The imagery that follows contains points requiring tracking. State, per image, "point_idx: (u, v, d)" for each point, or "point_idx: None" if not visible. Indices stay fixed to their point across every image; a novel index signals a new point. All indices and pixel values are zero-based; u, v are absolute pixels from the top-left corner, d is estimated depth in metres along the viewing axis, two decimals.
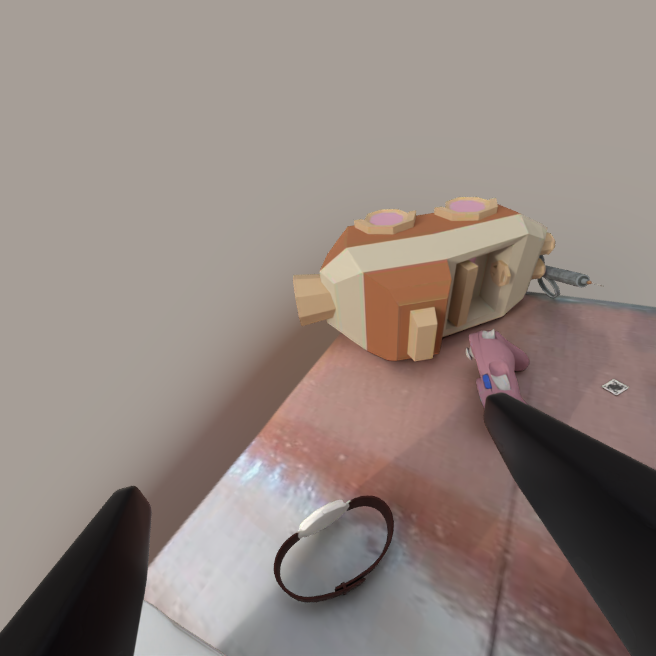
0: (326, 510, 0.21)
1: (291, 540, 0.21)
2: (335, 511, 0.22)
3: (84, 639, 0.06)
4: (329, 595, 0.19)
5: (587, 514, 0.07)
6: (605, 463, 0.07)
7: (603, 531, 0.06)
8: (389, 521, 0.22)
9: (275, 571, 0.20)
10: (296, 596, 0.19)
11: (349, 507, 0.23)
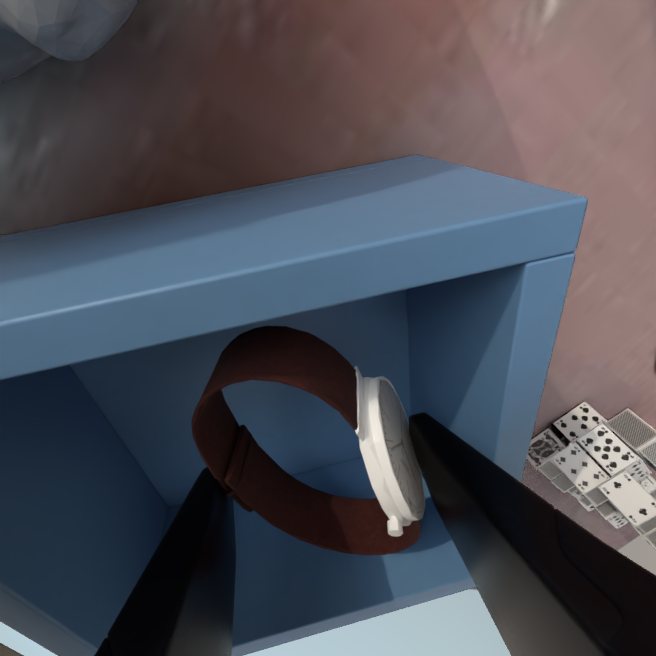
0: None
1: None
2: None
3: (202, 605, 0.06)
4: None
5: (483, 544, 0.06)
6: (499, 493, 0.06)
7: (495, 563, 0.06)
8: (361, 533, 0.11)
9: (248, 378, 0.06)
10: (194, 421, 0.07)
11: None
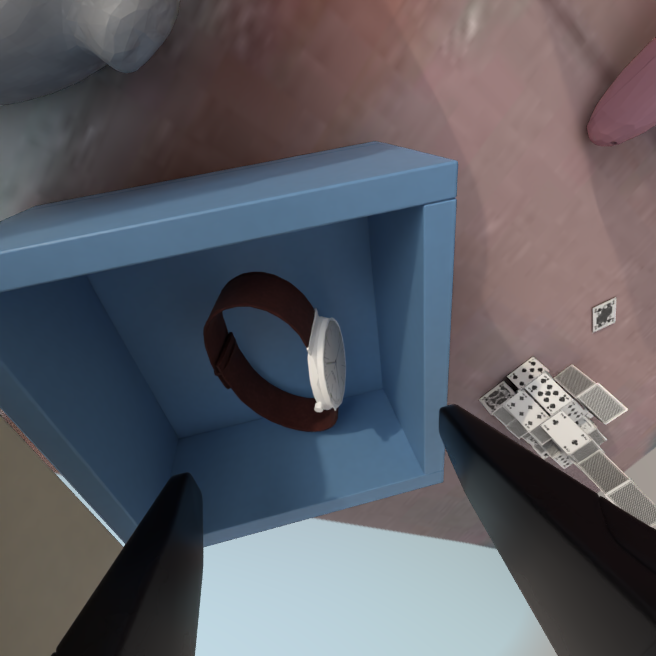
0: None
1: None
2: None
3: (159, 618, 0.06)
4: (208, 357, 0.12)
5: (525, 532, 0.07)
6: (541, 481, 0.06)
7: (538, 550, 0.06)
8: (298, 417, 0.15)
9: (248, 305, 0.10)
10: (207, 324, 0.11)
11: None
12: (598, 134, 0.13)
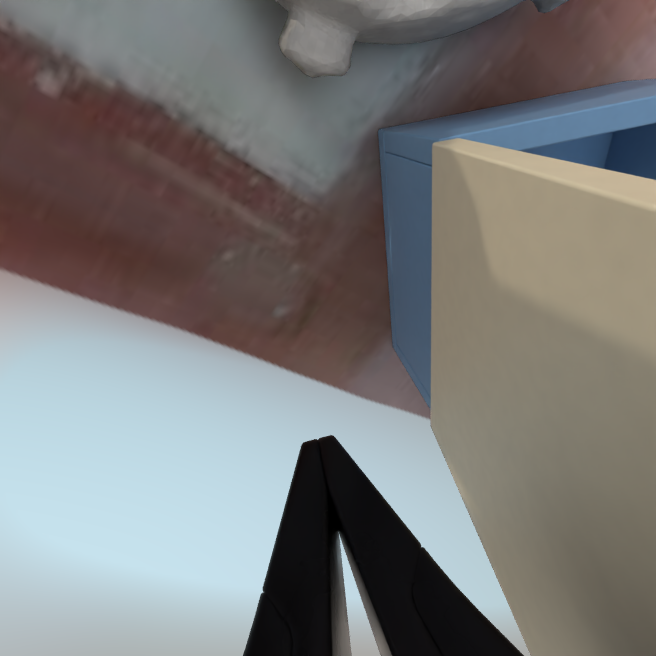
0: None
1: None
2: None
3: (334, 568, 0.06)
4: None
5: (359, 580, 0.06)
6: (373, 528, 0.06)
7: (366, 601, 0.06)
8: None
9: None
10: None
11: None
12: None
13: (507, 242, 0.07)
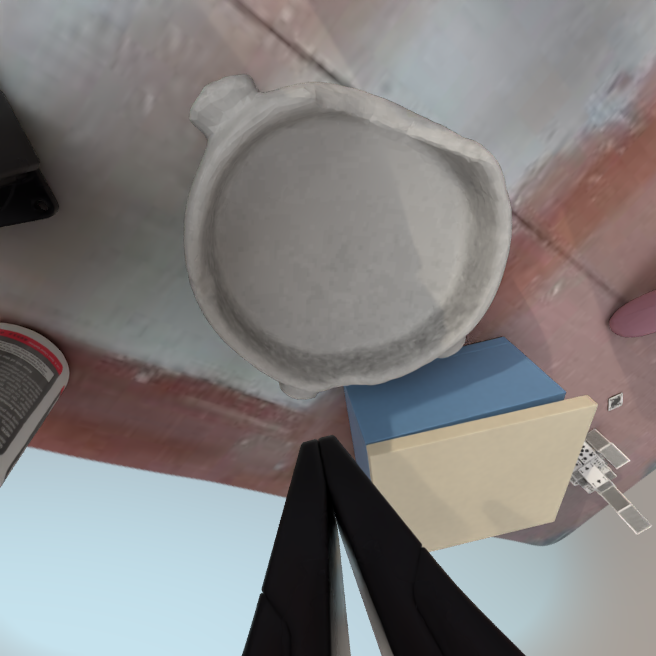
0: None
1: None
2: None
3: (334, 568, 0.06)
4: None
5: (360, 580, 0.06)
6: (374, 527, 0.06)
7: (367, 600, 0.06)
8: None
9: None
10: None
11: None
12: (615, 330, 0.25)
13: (451, 454, 0.19)
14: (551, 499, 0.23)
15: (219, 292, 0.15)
